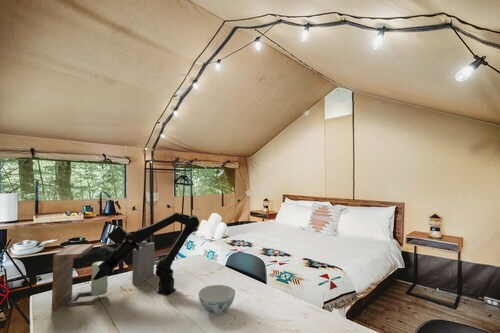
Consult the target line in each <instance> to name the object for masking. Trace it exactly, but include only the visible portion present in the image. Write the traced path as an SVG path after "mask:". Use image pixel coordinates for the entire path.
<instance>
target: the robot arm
mask: <svg viewBox="0 0 500 333" xmlns="http://www.w3.org/2000/svg"><path fill="white" fill-rule="evenodd" d="M176 222H177V223H180V224H182V225H184V226H183V230H182V231H181V233H180V234H179V236H178V238H176V240H175V242H174V243H173V245H172V247H171V248H170V250H169V252H168V253H167V255H165V256H161V257H160V259H159V261H158V262H156V266H155V276H156V277H157V278H159V281H158V290H157V291H156V293H157V294H159V295H165V296H169V295H170V294H171V293H173V292H175V291H176V290H177V289H176V288H175V278H174V269H172V265H173V262H174V260H175V259H176V257H177V255H178V254H179V252H180V251H181V249H182V247H184V244H185V242H186V241H187V240H188V238H189V237H190V235H191V234H192V233H193V232H195V231H196V229H197V228H198V227H199V226H200V219H199V217H198V216H197V215H194V214H192V215H188V214H185V213H181V212H178V211H175V212H173V213H172V214H171V215H169V216H166V217H164V218H162V219H161V220H158V221H157V222H154V223H152V224H150V225H147V226H142V227H139V228H138V229H137V228H136V230H133V231H128V232H127V231H126V230H125V229H123V227H122V226H121V225H120V224H119V225H118V226H117V227H116V228H115V229H113V230H112V231H111V232H109V233H108V234H107V235H106V237H107V238H108V239H109V240H110V241H112V242H113V243H114V245H119V246H118V247H116V248H113V247H111V246H108V245H106V244H102V245H100V246H99V249H98V251H97V255H101V256H104V257H106V258H105V260H102V261H103V262H102V263H101V264H100V265H99V266H98V268H99V269H100V270H99V271H98V273H97V274H96V275H95V277H94V278H93V280H97V279H100V278H102V277H105V276H108V277H110V275H112V274H114V271H115V267H118V266H120V263H122V261H124V260H125V259H126V258H127V257H128V256H129V255H130V254H131V253H133V250H134V249H136V250H137V251H139V249H140V243H141V242H143V241H146V240H147V239H148V238H149V237H151V236H152V235H153V234H155V233H157V232H158V231H160V230H163V229H164V228H166V227H169V226H170V225H172V224H174V223H176Z"/></svg>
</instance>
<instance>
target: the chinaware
mask: <svg viewBox="0 0 500 333" xmlns="http://www.w3.org/2000/svg"><path fill="white" fill-rule="evenodd" d="M235 295H236V291H235V289H234V288H233V287H231V286H228V285H225V284H213V285H208V286H206V287H203V288H201V289H200V290H199V291H198V299H199V302H200V305H201V306H202V307H203V309H204V310H206V311H207V312H208V314H209V315H211V316H215V317H216V316H217V317H218V316H221V315H223V314H224V313H225V312H226V311H227V310H228V309H230V307H231V305H232V303H233V301H234V300H235Z"/></svg>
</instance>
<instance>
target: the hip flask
mask: <svg viewBox="0 0 500 333" xmlns="http://www.w3.org/2000/svg"><path fill="white" fill-rule="evenodd" d="M139 244H140V249H139V251H137V250H136V249H134V250H133V251H132V277H131V278H132V280H131V281H132V282H131V284H132V285H133V286H134V285H135V286H137V285H139V284H140V283H142V282H143V281H144V280H147V278H150V277H152V276H154V274H155V242H152V241H151V242H148V241H147V240H144V241H143V242H141V243H139Z"/></svg>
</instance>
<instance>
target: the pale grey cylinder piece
mask: <svg viewBox="0 0 500 333" xmlns="http://www.w3.org/2000/svg"><path fill="white" fill-rule="evenodd" d="M103 261H104V260H101V261H96V262H93V263H91V280H90V281H91V284H90V286H91V287H90V291H91V295H90V296H93V297H96V296H101V295H104V294H106V293H107V292H108V284H109V283H108V282H109V281H108V278H109V276H105V277H102V278H100V279H97V280H93V278H94V277H95V275H96V274H97V273H98V271H99V270H100V269H99V268H98V266H99V265H100V264H101V263H102V262H103Z"/></svg>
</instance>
